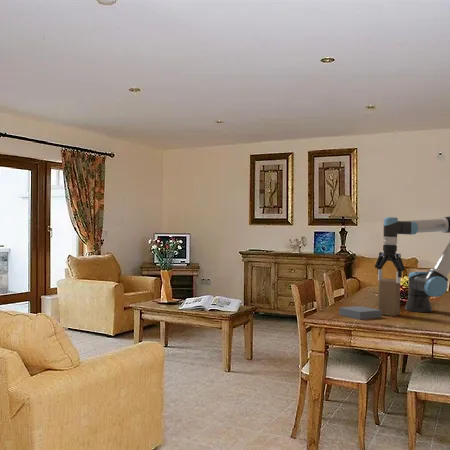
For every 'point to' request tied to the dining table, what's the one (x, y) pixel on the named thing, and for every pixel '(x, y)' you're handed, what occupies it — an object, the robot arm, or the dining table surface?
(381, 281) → the wooden block
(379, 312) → the charcoal plinth
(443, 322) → the dining table surface
